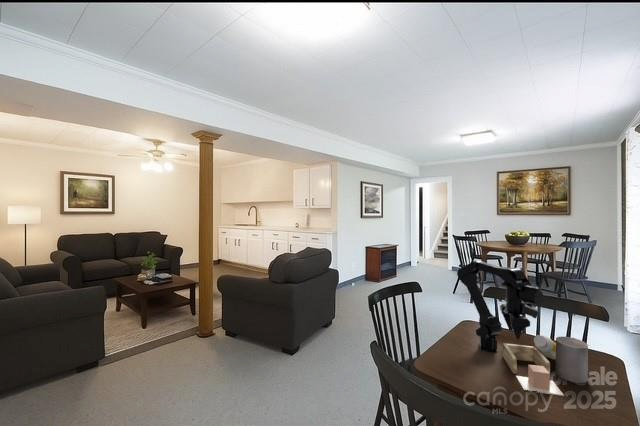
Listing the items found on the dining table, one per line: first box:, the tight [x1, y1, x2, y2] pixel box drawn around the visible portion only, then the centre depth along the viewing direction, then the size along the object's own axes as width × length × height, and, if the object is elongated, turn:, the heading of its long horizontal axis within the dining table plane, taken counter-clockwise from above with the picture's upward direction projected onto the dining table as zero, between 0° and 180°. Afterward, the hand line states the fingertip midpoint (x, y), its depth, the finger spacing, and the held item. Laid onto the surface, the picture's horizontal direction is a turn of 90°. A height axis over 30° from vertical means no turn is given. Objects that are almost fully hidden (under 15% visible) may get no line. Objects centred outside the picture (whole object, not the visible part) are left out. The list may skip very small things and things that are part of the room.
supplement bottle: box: [533, 334, 556, 360], centre depth 127 cm, size 7×7×13 cm
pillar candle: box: [555, 335, 589, 384], centre depth 115 cm, size 10×10×15 cm
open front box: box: [502, 342, 551, 374], centre depth 123 cm, size 12×14×6 cm
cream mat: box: [515, 375, 565, 397], centre depth 110 cm, size 12×9×1 cm
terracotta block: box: [527, 364, 551, 390], centre depth 110 cm, size 5×5×6 cm
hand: (514, 334), depth 126 cm, fingers open, 9 cm apart
